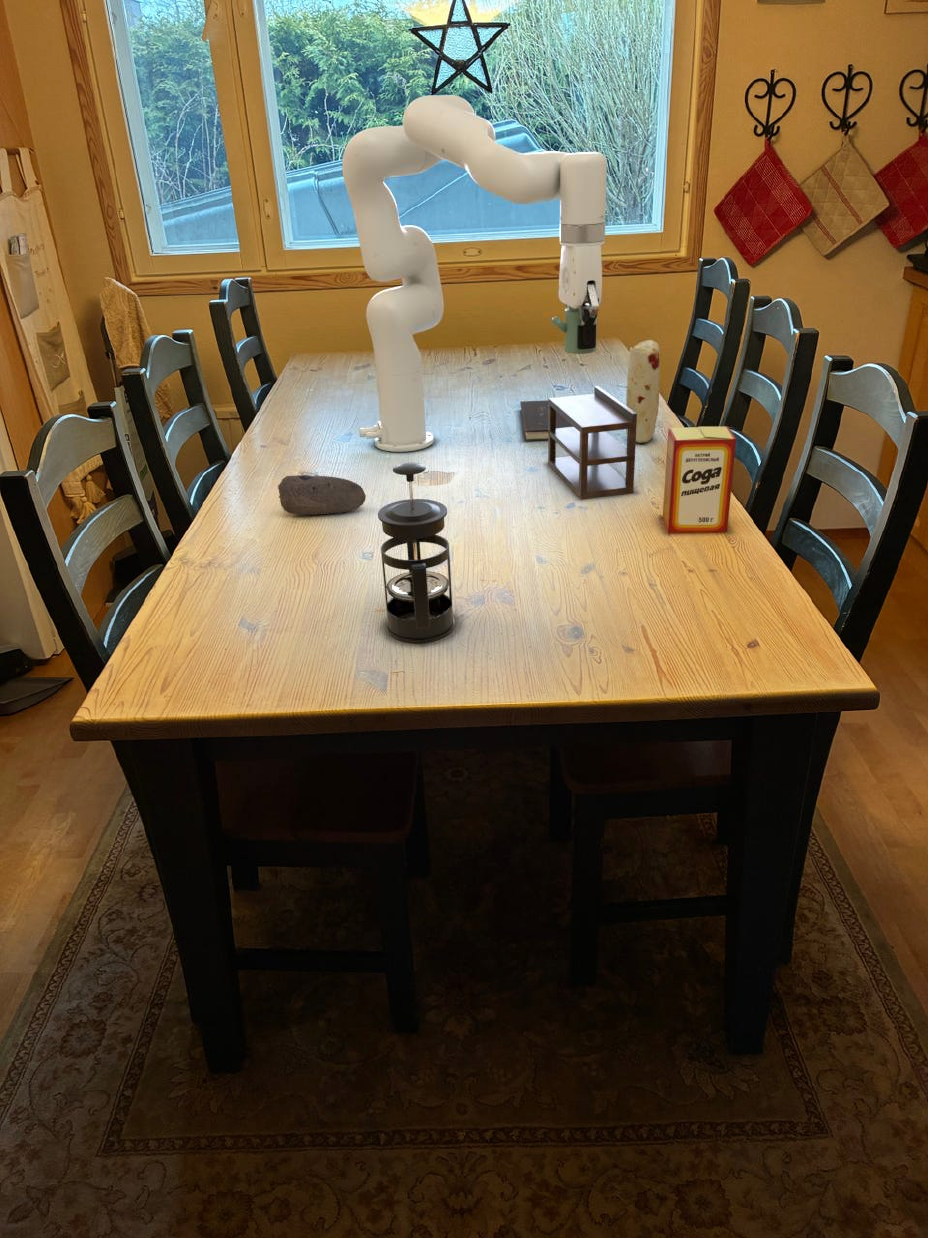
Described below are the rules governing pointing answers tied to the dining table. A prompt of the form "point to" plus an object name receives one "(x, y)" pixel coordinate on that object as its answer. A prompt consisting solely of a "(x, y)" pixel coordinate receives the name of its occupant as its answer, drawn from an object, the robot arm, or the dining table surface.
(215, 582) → the dining table surface
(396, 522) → the french press
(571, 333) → the kettle
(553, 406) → the stand
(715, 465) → the baking soda box
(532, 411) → the hardcover book
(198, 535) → the dining table surface
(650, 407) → the food model
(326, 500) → the perforated stone tool
